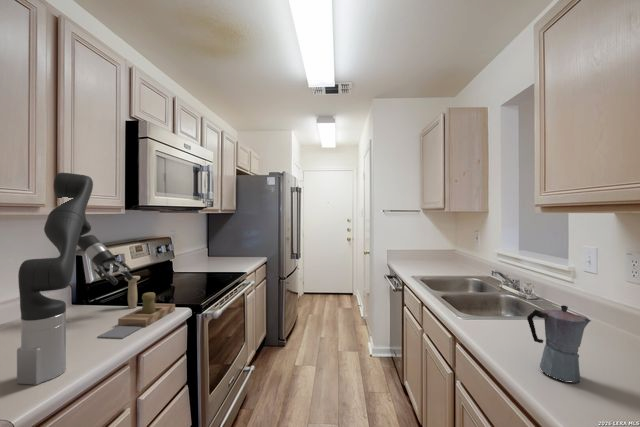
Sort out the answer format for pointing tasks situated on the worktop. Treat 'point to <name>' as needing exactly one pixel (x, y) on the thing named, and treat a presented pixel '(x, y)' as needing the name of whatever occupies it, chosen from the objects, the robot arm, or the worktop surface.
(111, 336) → the rubber mat
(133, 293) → the handle
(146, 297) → the cork
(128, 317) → the wooden compartment tray
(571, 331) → the moka pot
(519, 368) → the worktop surface
